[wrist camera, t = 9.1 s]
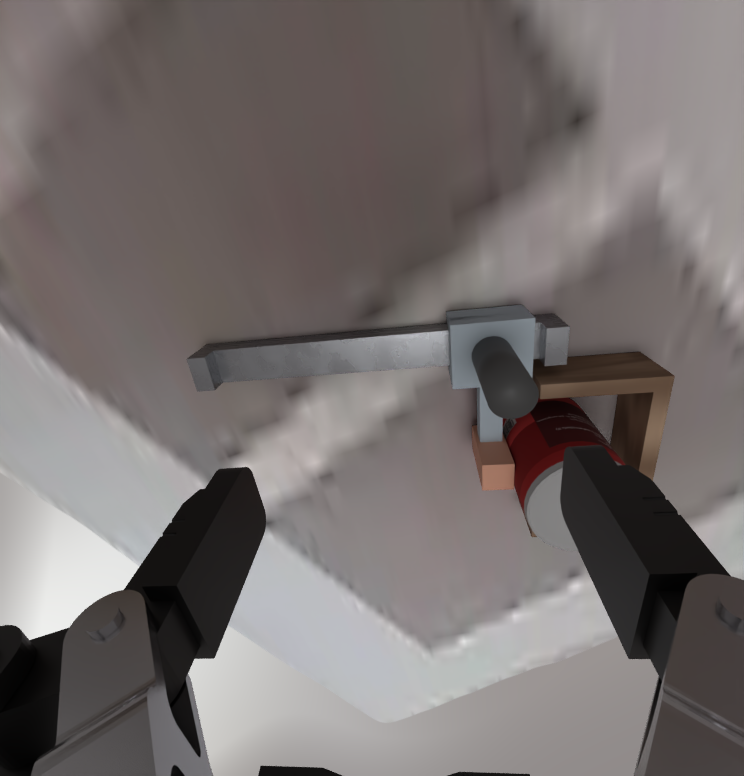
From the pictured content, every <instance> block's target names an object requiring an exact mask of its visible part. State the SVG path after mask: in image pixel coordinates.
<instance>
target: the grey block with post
mask: <svg viewBox="0 0 744 776" xmlns="http://www.w3.org/2000/svg"><path fill="white" fill-rule="evenodd" d="M446 319H447V324H448V330H449V354H450V365H449V374H450V379H451V384H452V388H453V389H464V388H477V425H472V447H473V452H474V456H475V461H476V465H477V469H478V473H479V478H480V482H481V486H482V490H507V489H514V470H515V464H514V461H513V458H512V456H511V453H510V450H509V448H508V445H507V442H506V440H505V437H504V434H503V432H502V430H503V418H504V419H516V418H520V417H523V416H525V415H527V414H528V413H529V412H531V411H532V410H533V408H534V407H535V406H536V404H537V402H538V398H539V391H538V387H537V385H536V384H535V382H534V380H533V379H532V375H533V355H534V335H535V317H534V316H533V315H532V314H531V313H530V312H529V311H528V310H527V309H526V308H525V307H524V306H523V305H513V306H502V307H491V308H480V309H470V310H459V311H448V312H446Z"/></svg>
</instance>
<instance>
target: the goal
mask: <svg viewBox="0 0 744 776" xmlns="http://www.w3.org/2000/svg"><path fill="white" fill-rule="evenodd" d="M674 377H675V376H674V375H673V374H671V373H670V372H668V371H667V370H665V369H664V368H662V367H661V366H660V365H658V364H657V363H655V362H654V361H652V360H651V359H649V358H648V357H647V356H645V355H644V354H642V353H641V352H630V353H617V354H603V355H590V356H577V357H567V365H554V366H544V365H543V363H542V362H541V361H540V359H537V360H533V375H532V379H533V380H534V382H535V384H536V385H537V387H538V391H539V398H540V399H552V398H568V397H584V396H600V395H616V394H618V398H617V405H616V412H615V418H614V425H613V432H612V438H611V447H612V448H613V449H614V450H615V452H616V453H617V454H618V455H619V457H620V458H621V459H622V460H623V462H624V463H625V464H626V465H630V466H632V467H633V468H635V469H636V470H638V471H640V472H641V473H643V474H644V475H646V476H647V477H649V478H650V479H651V480H652V481H653V477H654V472H655V467H656V463H657V458H658V453H659V448H660V444H661V439H662V434H663V429H664V425H665V420H666V415H667V410H668V405H669V401H670V396H671V391H672V386H673V382H674ZM519 502H520V501H519ZM522 510H523V509H522ZM523 513H524V511H523ZM524 516H525V514H524ZM525 519H526V517H525ZM526 522H527V525H528V527H529V530H530V533H531V536H532V537H537V536H536V535H535V533H534V532H533V531H532V529H531V527H530V525H529V524H528V521H527V519H526Z"/></svg>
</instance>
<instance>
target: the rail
mask: <svg viewBox="0 0 744 776" xmlns="http://www.w3.org/2000/svg"><path fill="white" fill-rule="evenodd" d="M534 317H535V335H534V355H533V359H540V361H541V362H542V363H543V365H544V366H554V365H567V354H568V342H569V331H570V326H569V325H567V324H566V323H565V322H564V321H563V320H561V319H560V318H559V317H558V316H557V315H555V314H545V315H534ZM187 362H188V365H189V368H190V371H191V374H192V377H193V380H194V383H195V386H196V389H197V391H211V390H216V389H217V388H218V387H219V386H220V385H221V384H222V383H223V382H235V381H248V380H262V379H275V378H288V377H301V376H315V375H328V374H341V373H354V372H368V371H381V370H394V369H407V368H421V367H434V366H447V365H450V354H449V330H448V324H447V323H444V324H432V325H421V326H410V327H399V328H387V329H376V330H365V331H354V332H343V333H331V334H320V335H309V336H298V337H286V338H275V339H264V340H253V341H241V342H230V343H219V344H208V345H205V346H204V347H202V348H201V349H200V350H198V351H197V352H196V353H194V354H193V355H191V356H190V357H189V358H187Z"/></svg>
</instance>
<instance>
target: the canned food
mask: <svg viewBox="0 0 744 776" xmlns="http://www.w3.org/2000/svg"><path fill="white" fill-rule="evenodd" d="M502 432H503V434H504V437H505V440H506V442H507V445H508V448H509V450H510V453H511V456H512V458H513V461H514V464H515V470H514V486H515V489H516V492H517V495H518V498H519V501H520V504H521V507H522V509H523V511H524V514H525V517H526V519H527V521H528V524H529V525H530V527H531V529H532V531H533V532H534V533H535V535H536V536H537V537H538V538H539V539H541V540H542V541H543V542H544V543H546V544H548V545H550V546H552V547H555V548H558V549H561V550H567V551H578V549H577V547H576V545H575V543H574V540H573V538H572V536H571V534H570V532H569V530H568V528H567V525H566V523H565V521H564V518H563V514H562V510H561V504H560V492H561V481H562V470H563V459H564V452H565V449H566V448H567V447H574V446H589V445H602V446H603V447H604V448H605V449H606V450H607V452H608V453H609V454H610V456H611V457H612V458H613V460H614V461H615V462H616V464H617V465H626V464H625V463H624V462H623V460H622V459H621V458H620V457H619V455H618V454H617V453H616V452H615V450H614V449H613V448H612V447H611V445H610V444H609V443H608V442H607V440H606V439H605V438H604V437H603V435H602V434H601V433H600V432H599V430H598V429H597V428H596V427H595V425H594V424H593V423H592V422H591V420H590V419H589V418H588V417H587V415H586V414H585V413H584V412H583V410H582V409H581V408H580V407H579V405H577V404H576V403H575V402H574V401H573V400H571V399H570V398H552V399H540V398H538V402H537V404H536V406H535V407H534V408H533V410H532V411H531V412H529V413H528V414H527V415H525V416H523V417H520V418H516V419H504V418H503V430H502Z"/></svg>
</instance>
